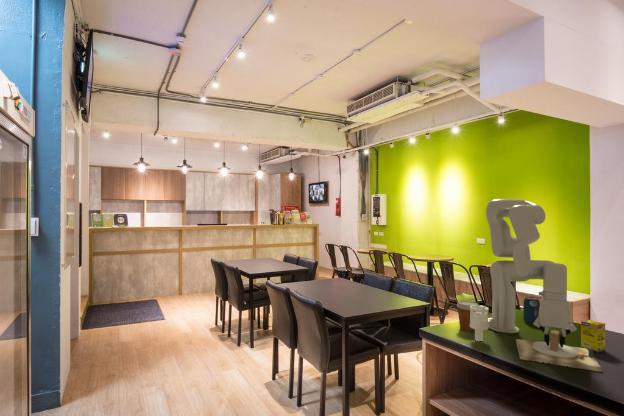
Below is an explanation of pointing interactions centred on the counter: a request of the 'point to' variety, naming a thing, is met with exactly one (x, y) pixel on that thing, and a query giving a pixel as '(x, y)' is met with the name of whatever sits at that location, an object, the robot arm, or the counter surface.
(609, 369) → the counter surface
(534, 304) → the soda can
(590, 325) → the supplement box
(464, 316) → the disposable coffee cup
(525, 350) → the level stand
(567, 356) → the dial
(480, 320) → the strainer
